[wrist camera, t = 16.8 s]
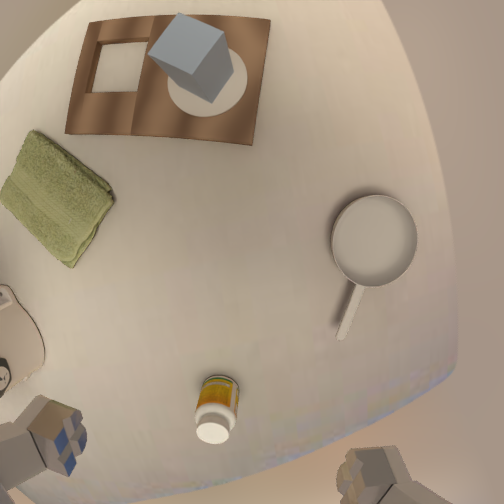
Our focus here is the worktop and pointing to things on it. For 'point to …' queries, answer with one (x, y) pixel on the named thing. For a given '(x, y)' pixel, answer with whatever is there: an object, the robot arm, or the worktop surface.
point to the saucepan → (372, 247)
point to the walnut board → (164, 84)
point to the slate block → (194, 56)
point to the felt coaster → (222, 102)
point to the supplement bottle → (216, 409)
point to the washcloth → (56, 197)
